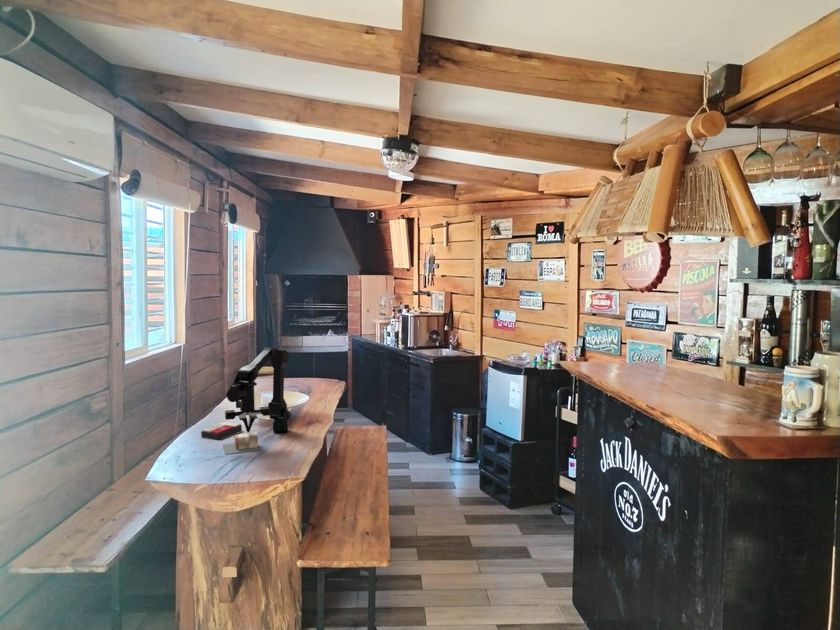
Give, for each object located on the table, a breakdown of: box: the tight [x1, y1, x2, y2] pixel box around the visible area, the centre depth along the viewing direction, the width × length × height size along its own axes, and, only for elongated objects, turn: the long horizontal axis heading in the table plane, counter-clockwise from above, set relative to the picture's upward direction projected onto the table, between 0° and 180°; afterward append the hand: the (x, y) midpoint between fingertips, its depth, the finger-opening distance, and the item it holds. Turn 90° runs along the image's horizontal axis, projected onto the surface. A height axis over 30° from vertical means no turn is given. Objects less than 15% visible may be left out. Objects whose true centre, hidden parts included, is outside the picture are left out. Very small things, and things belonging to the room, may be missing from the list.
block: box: [234, 432, 259, 449], centre depth 233 cm, size 5×5×9 cm
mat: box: [222, 442, 259, 455], centre depth 232 cm, size 13×14×1 cm
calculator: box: [200, 421, 243, 441], centre depth 252 cm, size 11×4×15 cm
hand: (248, 432), depth 233 cm, fingers closed
